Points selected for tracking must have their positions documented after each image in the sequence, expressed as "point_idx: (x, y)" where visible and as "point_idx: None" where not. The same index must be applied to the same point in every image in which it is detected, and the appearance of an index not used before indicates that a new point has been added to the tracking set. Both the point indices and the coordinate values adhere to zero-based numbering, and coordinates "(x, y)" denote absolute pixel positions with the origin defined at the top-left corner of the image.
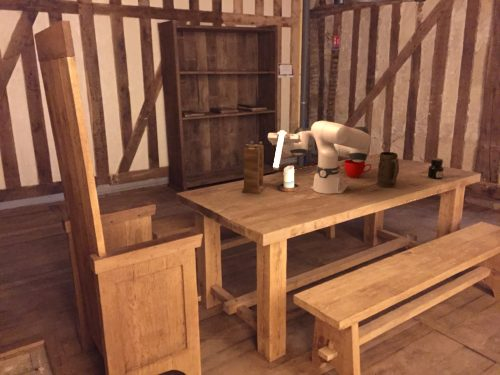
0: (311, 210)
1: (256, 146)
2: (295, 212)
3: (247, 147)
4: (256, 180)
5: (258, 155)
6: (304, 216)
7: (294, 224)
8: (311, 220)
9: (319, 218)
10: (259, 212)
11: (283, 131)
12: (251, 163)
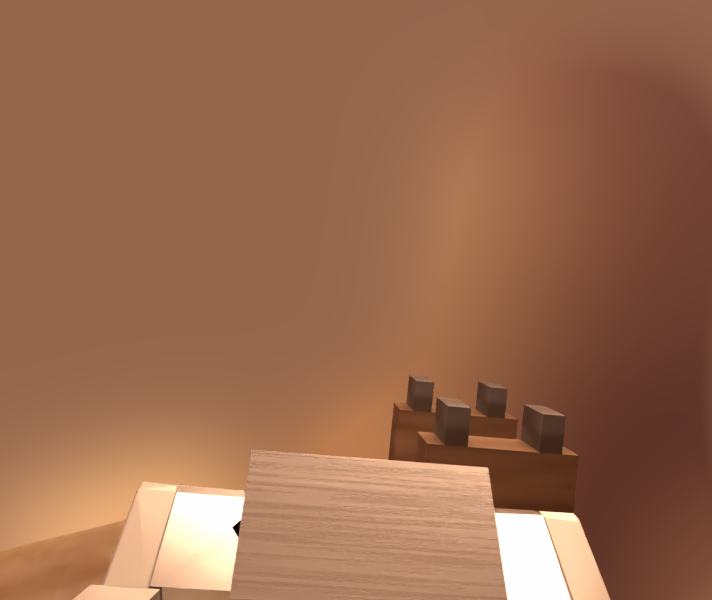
0: (13, 594)
1: (409, 381)
2: (103, 576)
3: (477, 399)
4: None
5: (391, 454)
6: (70, 556)
7: (124, 521)
8: (50, 539)
9: (8, 549)
10: None
11: (318, 475)
12: None
